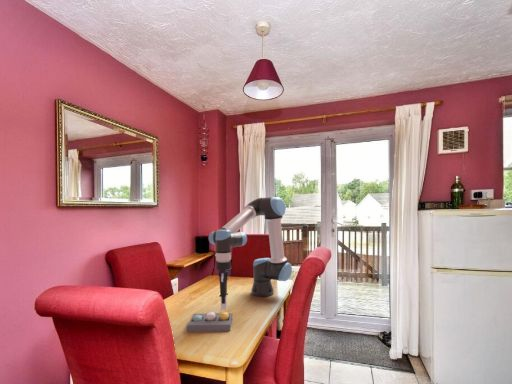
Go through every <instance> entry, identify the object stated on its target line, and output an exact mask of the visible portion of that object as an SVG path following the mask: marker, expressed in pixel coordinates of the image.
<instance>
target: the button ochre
mask: <svg viewBox="0 0 512 384" xmlns="http://www.w3.org/2000/svg"><path fill="white" fill-rule="evenodd" d="M219 313H220V321H227V320H228V319H229V313H230V312H228V311H221V312H219Z"/></svg>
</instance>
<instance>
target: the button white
mask: <svg viewBox="0 0 512 384" xmlns="http://www.w3.org/2000/svg"><path fill="white" fill-rule="evenodd" d="M215 313H216V312H214V311H208V312H206V313H205V314H206V320H207V321H214V320H215Z"/></svg>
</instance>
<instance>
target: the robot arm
mask: <svg viewBox="0 0 512 384" xmlns="http://www.w3.org/2000/svg"><path fill="white" fill-rule="evenodd" d="M285 213H286V204H285V201H284V200H283V199H282V198H281V197H279V196H278V197H277V196H272V197H271V196H270V197H268V196H267V197H258V198H256V199H254V200H252V201H251V202H248V204H246V205H245V206H244V207H243V210H241V211H239V213H238V214H236V215H235V216H234V217H233V218H231V220H229V221H228V222H227V223H225V225H223V226H222V227H221V228H219V229H218V230H214V231H211V232H210V233H209V235H208V242H209V243H210V244H212V245H215V254H214V257H215V260H216V262H215V269H216V270H218V271H219V274H218V277H219V278H218V279H219V293H220V294H219V296H218V297H219V298H220V311H227V307H228V305H227V303H228V302H227V301H228V299H227V298H228V297H227V296H229V295H228V294H229V293H228V276H229V273H228V271H229V270H231V269H232V261H231V260H232V248H237V247H243V246H245V245H246V244H247V242H248V236H247V234H246V233H245V232H244V231H239V230H241V228H243V227H244V226H245V225H246V224H247V223H248V222H250V221H251V220H252V219H255V218H256V217H259V216H264V220H265V221H266V222H267V229H268V239H269V240H268V241H269V247H270V248H269V250H270V256H271V257H263V258H262V257H261V258H257V259H254V261H253V266H252V268H253V272H252V273H253V282H252V285H251V286H252V287H251V290H250V292H251V296H254V297H260V298H261V297H270V296H273V295H274V293H275V291H274V290H275V289H274V287H273V284H272V281H280V282H286V281H288V280H289V279H290V277H291V274H292V270H293V269H292V264H291V263H290V262H288V258H287V257H286V256H285V251H284V250H285V249H284V239H283V238H284V237H283V230H282V221H281V220H282V219H283V218H284V217H283V216H284V215H285Z"/></svg>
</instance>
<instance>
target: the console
mask: <svg viewBox="0 0 512 384" xmlns="http://www.w3.org/2000/svg"><path fill="white" fill-rule="evenodd" d="M220 313H221V312H215V320H214V321H207V320H206V314H207V313H193V315H192V316H191V318H190V320H189V322H188V323H187V324H186V332H187V333H203V332H205V333H206V332H209V333H210V332H211V333H212V332H230V331H231V328H232V323H233V312H228V313H229V319H228V320H227V321H220ZM195 315H202V321H193V316H195Z"/></svg>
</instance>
